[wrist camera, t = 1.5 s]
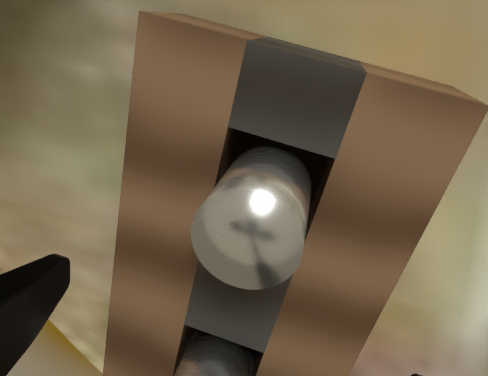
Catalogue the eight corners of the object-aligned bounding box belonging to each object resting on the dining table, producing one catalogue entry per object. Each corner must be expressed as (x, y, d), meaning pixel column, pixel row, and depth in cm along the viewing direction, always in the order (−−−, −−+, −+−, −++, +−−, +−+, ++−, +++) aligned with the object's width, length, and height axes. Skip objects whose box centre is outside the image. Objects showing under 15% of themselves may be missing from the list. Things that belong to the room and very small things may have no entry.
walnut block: (305, 397, 29) (299, 466, 24) (136, 335, 30) (101, 390, 26) (452, 86, 18) (489, 106, 14) (183, 14, 20) (138, 11, 15)
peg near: (297, 235, 18) (285, 303, 14) (219, 210, 19) (182, 269, 14) (323, 160, 17) (319, 211, 12) (237, 135, 17) (201, 174, 12)
